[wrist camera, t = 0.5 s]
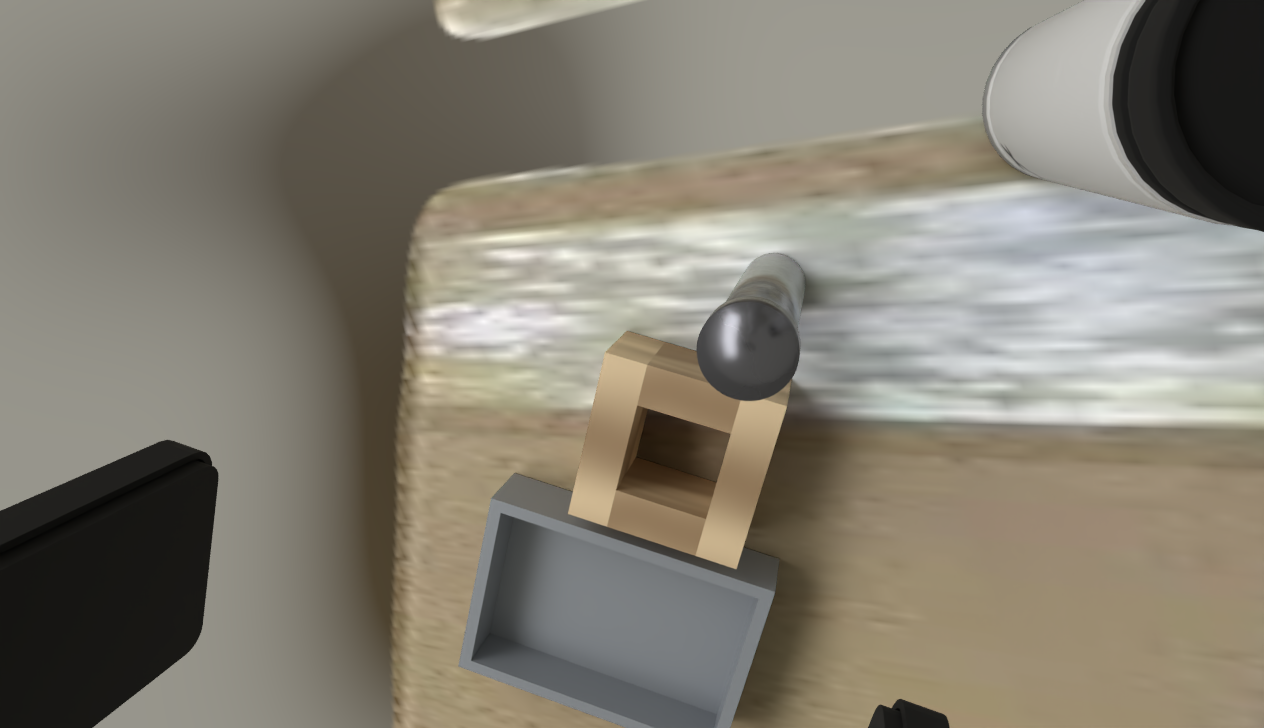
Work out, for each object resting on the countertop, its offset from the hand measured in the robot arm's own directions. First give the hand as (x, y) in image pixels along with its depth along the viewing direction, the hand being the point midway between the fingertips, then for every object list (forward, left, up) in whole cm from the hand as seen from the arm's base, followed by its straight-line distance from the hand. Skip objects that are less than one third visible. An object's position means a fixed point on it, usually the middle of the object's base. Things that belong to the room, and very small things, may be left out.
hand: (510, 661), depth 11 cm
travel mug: (-10, +10, -29) cm, 32 cm away
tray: (+18, -2, -29) cm, 34 cm away
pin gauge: (0, +1, -29) cm, 29 cm away
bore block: (+8, -1, -29) cm, 30 cm away
